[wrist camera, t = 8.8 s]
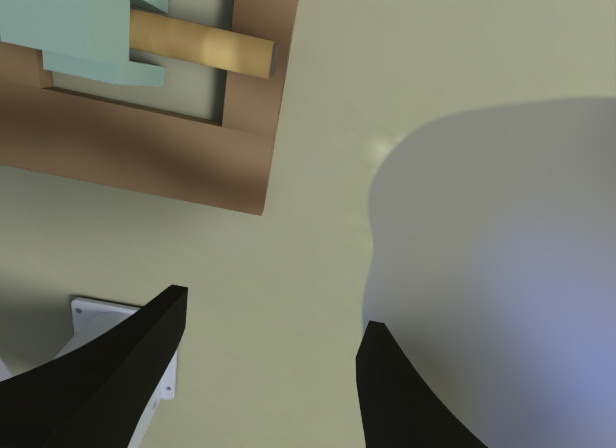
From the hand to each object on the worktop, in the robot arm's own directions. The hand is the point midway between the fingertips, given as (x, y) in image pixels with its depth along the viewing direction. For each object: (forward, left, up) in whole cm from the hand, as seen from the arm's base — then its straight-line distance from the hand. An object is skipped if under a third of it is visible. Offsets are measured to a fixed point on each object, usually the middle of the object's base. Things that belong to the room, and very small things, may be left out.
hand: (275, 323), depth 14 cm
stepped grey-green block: (+9, +10, -10) cm, 17 cm away
